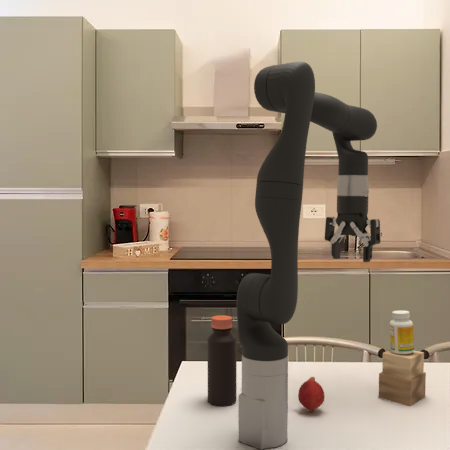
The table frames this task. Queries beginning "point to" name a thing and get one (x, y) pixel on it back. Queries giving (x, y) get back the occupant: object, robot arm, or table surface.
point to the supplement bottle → (401, 333)
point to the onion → (311, 394)
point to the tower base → (402, 388)
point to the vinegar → (221, 362)
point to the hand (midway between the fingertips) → (351, 260)
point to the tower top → (403, 364)
